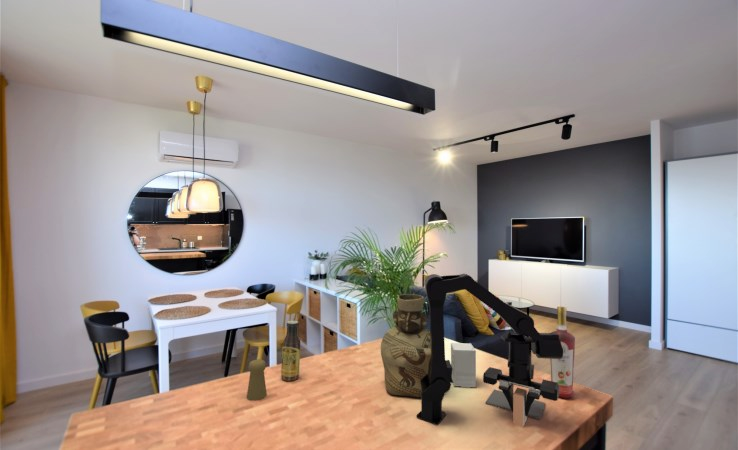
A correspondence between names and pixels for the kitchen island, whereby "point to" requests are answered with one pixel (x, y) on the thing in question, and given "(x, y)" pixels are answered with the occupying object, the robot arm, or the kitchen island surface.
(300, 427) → the kitchen island surface
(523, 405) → the slab
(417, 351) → the ceramic vessel
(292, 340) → the sauce bottle
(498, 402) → the mat
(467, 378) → the supplement box
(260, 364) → the pepper mill
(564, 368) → the liquor
